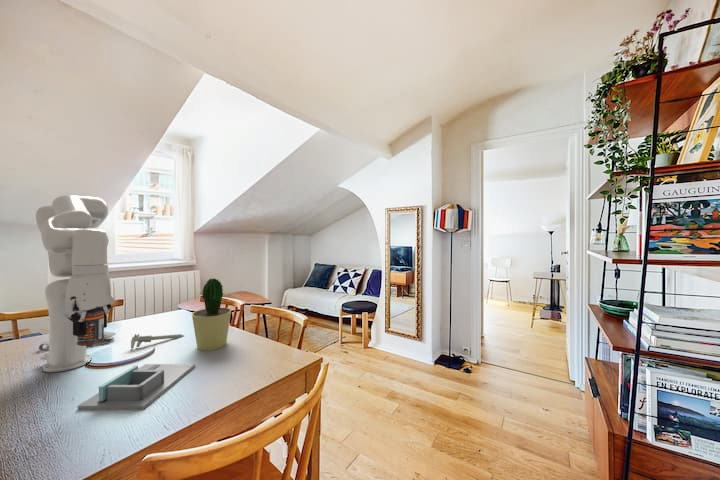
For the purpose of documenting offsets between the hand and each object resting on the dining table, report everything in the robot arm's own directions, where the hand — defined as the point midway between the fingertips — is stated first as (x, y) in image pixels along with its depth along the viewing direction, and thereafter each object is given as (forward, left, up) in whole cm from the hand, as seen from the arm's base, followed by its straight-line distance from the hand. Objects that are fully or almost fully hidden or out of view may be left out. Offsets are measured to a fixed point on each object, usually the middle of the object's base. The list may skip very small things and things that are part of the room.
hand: (90, 330), depth 85 cm
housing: (+11, +7, -20) cm, 24 cm away
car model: (-41, +41, -20) cm, 62 cm away
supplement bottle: (0, 0, -4) cm, 4 cm away
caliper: (-9, +43, -20) cm, 49 cm away
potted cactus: (+16, +40, -20) cm, 47 cm away
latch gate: (+7, +2, -18) cm, 20 cm away
